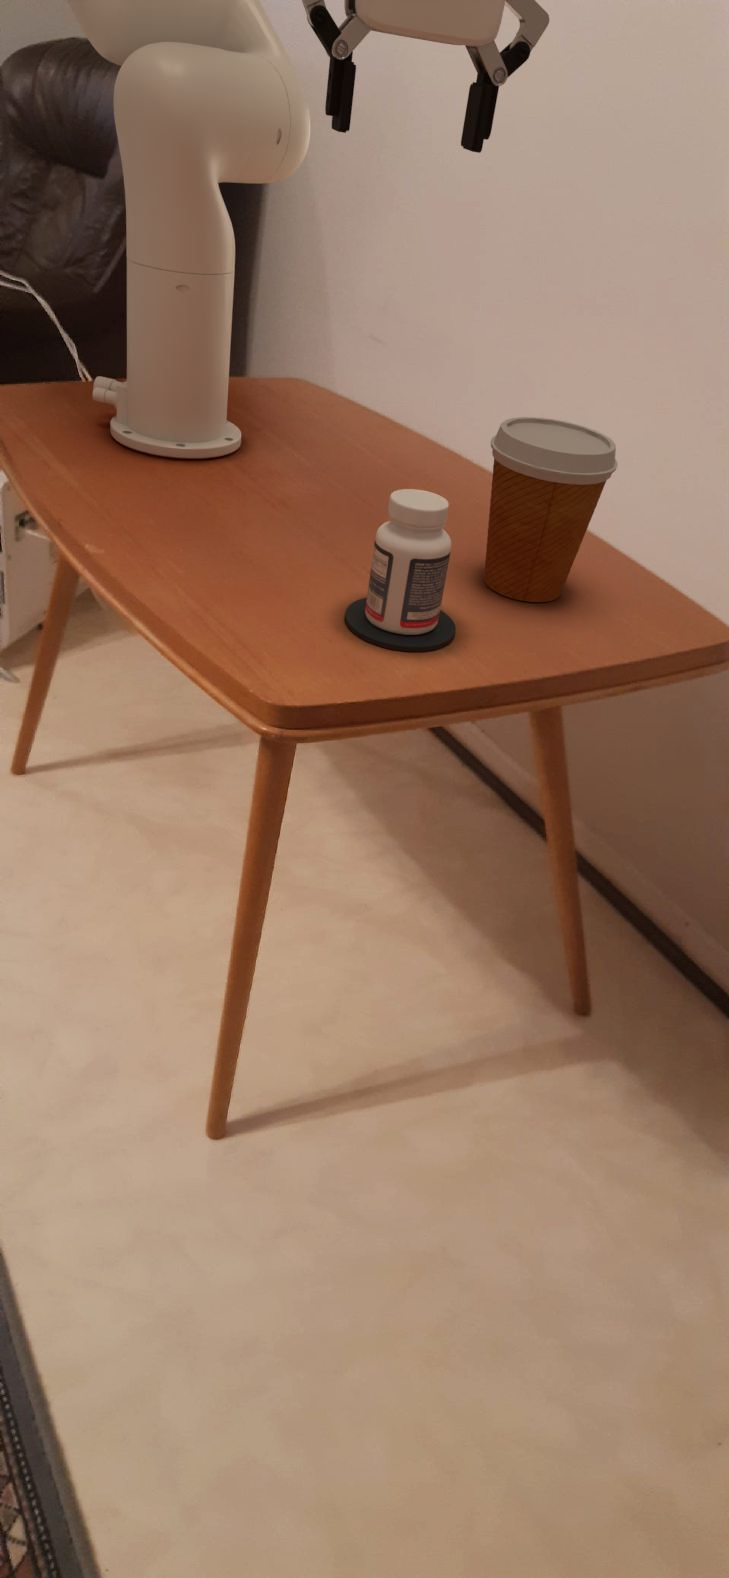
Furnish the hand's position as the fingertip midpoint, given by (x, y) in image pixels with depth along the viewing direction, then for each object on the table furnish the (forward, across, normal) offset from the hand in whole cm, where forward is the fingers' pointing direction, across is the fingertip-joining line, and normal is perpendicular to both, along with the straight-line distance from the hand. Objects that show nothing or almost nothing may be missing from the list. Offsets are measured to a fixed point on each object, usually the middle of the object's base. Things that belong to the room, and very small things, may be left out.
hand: (406, 140), depth 72 cm
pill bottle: (+28, +1, +19) cm, 34 cm away
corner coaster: (+28, +1, +19) cm, 34 cm away
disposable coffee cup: (+28, -11, +12) cm, 33 cm away
